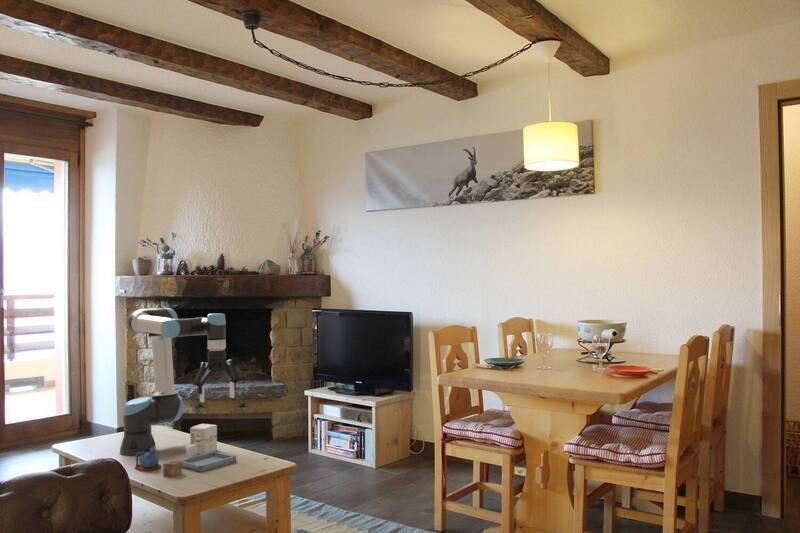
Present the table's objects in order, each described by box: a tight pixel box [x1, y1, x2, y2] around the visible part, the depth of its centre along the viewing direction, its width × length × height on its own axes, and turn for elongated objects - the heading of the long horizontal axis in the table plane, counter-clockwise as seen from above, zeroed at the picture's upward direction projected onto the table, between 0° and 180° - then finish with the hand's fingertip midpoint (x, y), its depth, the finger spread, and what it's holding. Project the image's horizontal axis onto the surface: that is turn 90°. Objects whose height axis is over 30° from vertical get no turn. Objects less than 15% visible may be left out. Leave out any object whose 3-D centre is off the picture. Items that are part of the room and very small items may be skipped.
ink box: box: [189, 423, 218, 455], centre depth 295 cm, size 9×8×12 cm
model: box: [133, 448, 163, 473], centre depth 271 cm, size 12×9×9 cm
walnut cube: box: [162, 459, 183, 478], centre depth 260 cm, size 5×5×5 cm
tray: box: [178, 451, 237, 473], centre depth 274 cm, size 15×18×2 cm
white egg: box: [186, 444, 198, 459], centre depth 282 cm, size 4×4×6 cm
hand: (217, 399), depth 279 cm, fingers open, 13 cm apart
